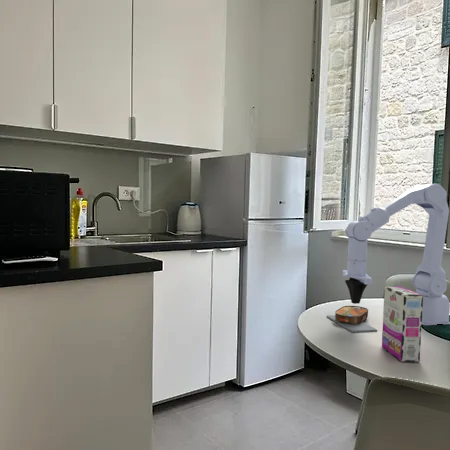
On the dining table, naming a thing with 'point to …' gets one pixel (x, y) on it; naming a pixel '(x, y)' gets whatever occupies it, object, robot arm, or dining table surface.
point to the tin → (351, 314)
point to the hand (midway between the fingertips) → (355, 303)
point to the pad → (354, 326)
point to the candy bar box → (402, 323)
